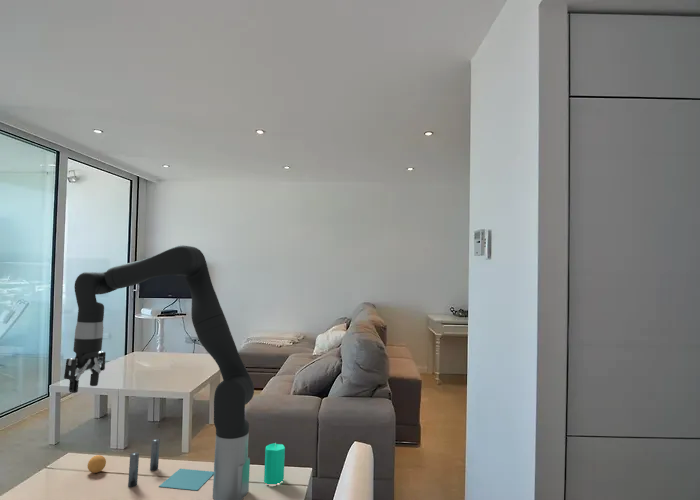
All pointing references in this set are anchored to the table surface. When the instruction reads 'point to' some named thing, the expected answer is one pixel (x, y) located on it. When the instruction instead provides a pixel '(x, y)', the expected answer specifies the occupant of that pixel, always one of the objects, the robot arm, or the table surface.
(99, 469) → the ball
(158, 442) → the right post
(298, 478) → the table surface
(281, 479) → the candle
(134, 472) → the left post
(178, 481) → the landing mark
